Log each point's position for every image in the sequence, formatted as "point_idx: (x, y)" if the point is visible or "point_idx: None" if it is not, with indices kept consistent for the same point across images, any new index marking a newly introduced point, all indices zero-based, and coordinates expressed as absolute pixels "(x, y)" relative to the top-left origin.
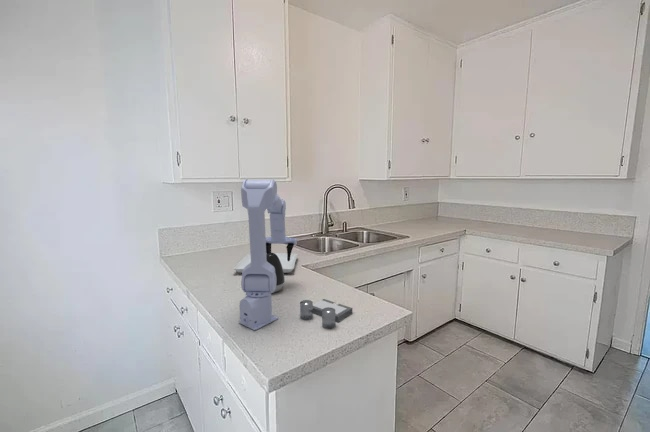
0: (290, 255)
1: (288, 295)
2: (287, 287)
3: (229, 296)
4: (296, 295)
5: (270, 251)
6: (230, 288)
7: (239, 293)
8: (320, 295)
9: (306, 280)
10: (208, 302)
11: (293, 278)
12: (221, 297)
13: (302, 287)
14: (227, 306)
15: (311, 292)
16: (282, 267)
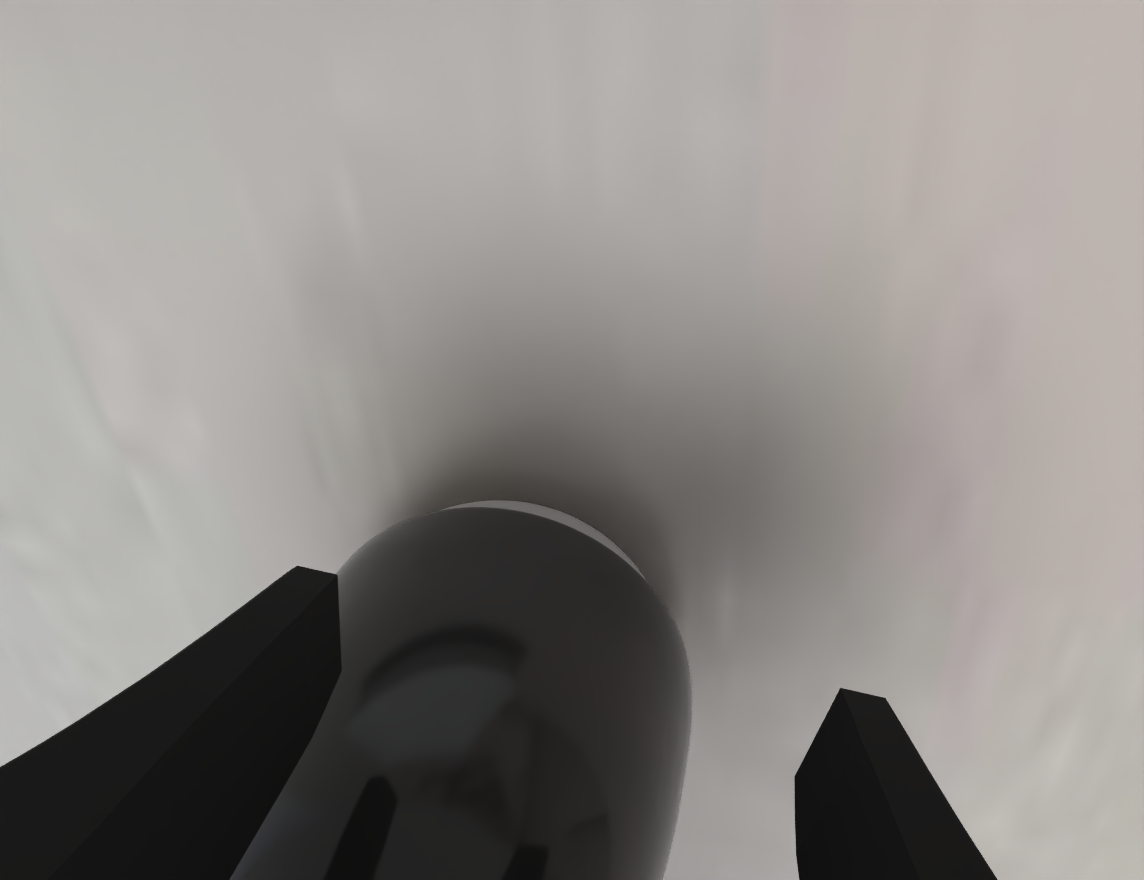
0: (941, 818)
1: (729, 759)
2: (728, 540)
3: (121, 675)
4: None
5: (174, 839)
6: (26, 470)
7: (187, 622)
8: (1113, 825)
9: (1089, 288)
10: (8, 757)
11: (863, 153)
12: (59, 683)
13: (944, 571)
14: None
15: (1027, 735)
16: (657, 875)
